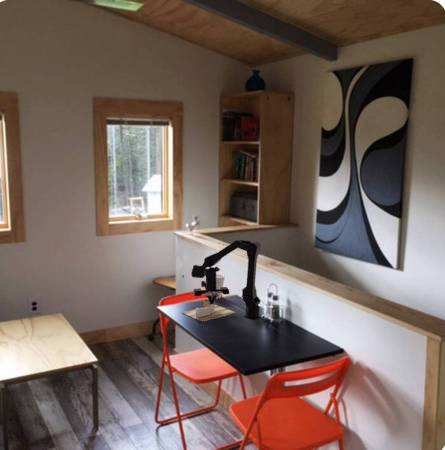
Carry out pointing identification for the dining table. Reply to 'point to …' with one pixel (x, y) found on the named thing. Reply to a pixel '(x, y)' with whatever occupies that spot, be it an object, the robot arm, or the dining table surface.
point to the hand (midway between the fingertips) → (211, 307)
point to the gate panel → (206, 303)
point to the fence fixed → (205, 311)
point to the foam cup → (219, 283)
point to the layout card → (217, 314)
